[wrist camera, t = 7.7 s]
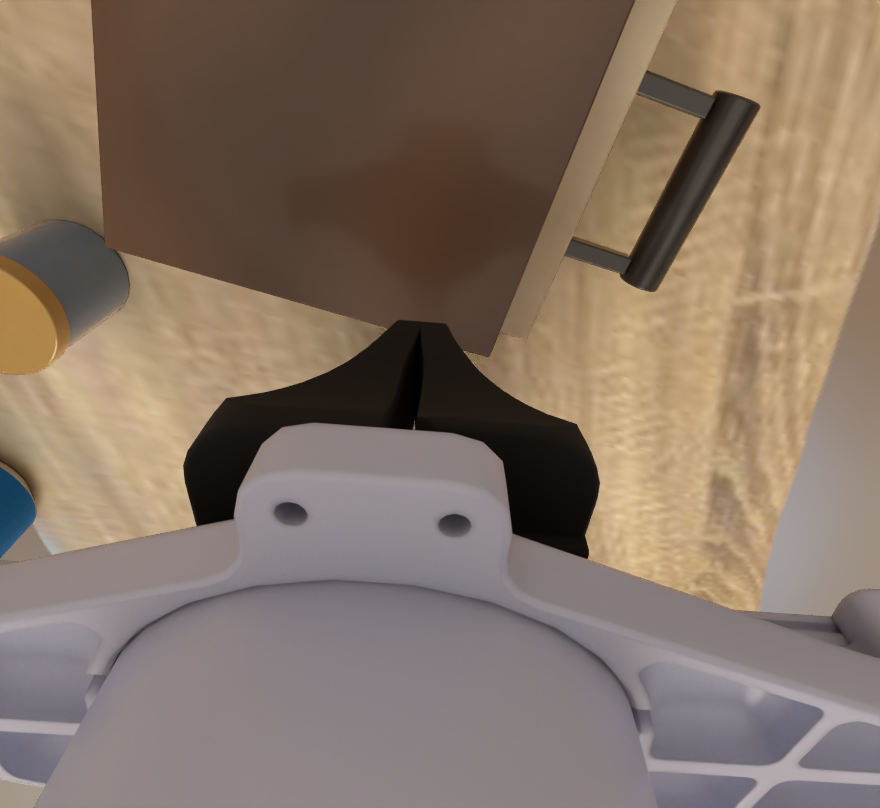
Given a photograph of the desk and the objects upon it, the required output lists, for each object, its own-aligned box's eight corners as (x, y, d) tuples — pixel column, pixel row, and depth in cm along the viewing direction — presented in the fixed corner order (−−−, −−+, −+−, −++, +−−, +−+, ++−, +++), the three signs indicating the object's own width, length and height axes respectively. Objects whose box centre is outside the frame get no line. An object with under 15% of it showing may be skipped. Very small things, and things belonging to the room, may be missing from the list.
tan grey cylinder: (151, 308, 24) (83, 363, 19) (64, 327, 24) (-21, 385, 20) (93, 205, 21) (0, 242, 17) (-3, 230, 22) (-116, 272, 18)
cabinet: (615, -74, 16) (693, -142, 11) (481, 288, 23) (489, 358, 17) (210, -248, 14) (64, -431, 9) (193, 200, 21) (104, 247, 16)
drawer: (764, 9, 16) (859, -8, 13) (602, 318, 22) (632, 372, 19) (278, -196, 14) (210, -293, 10) (242, 207, 20) (191, 242, 16)
